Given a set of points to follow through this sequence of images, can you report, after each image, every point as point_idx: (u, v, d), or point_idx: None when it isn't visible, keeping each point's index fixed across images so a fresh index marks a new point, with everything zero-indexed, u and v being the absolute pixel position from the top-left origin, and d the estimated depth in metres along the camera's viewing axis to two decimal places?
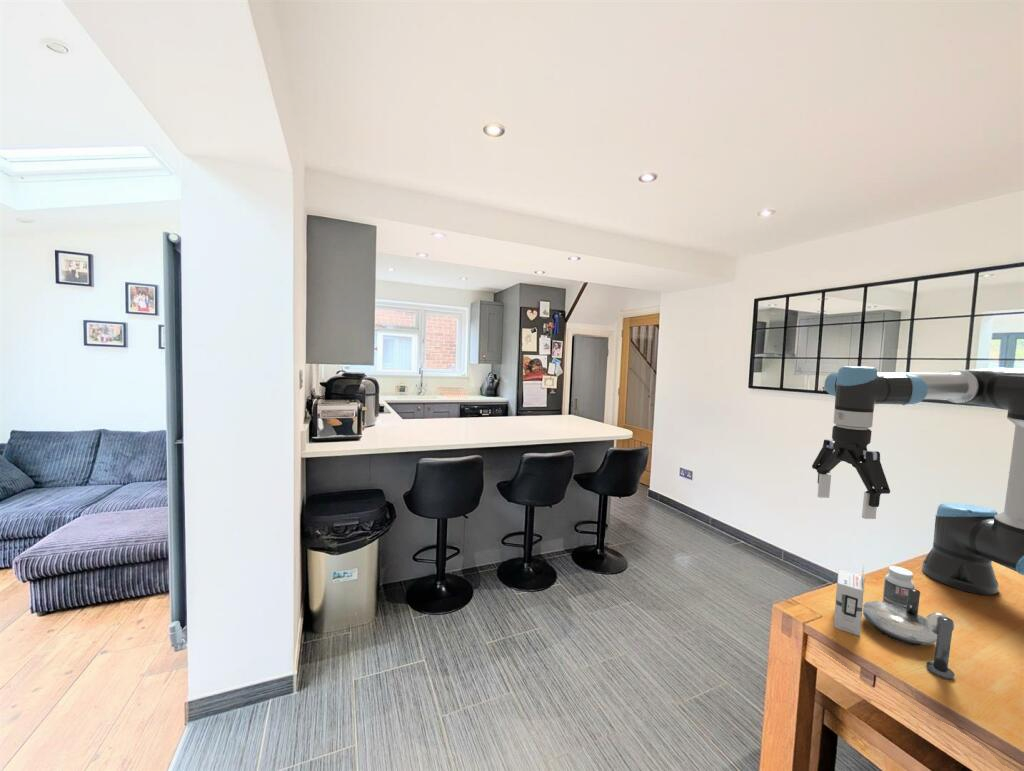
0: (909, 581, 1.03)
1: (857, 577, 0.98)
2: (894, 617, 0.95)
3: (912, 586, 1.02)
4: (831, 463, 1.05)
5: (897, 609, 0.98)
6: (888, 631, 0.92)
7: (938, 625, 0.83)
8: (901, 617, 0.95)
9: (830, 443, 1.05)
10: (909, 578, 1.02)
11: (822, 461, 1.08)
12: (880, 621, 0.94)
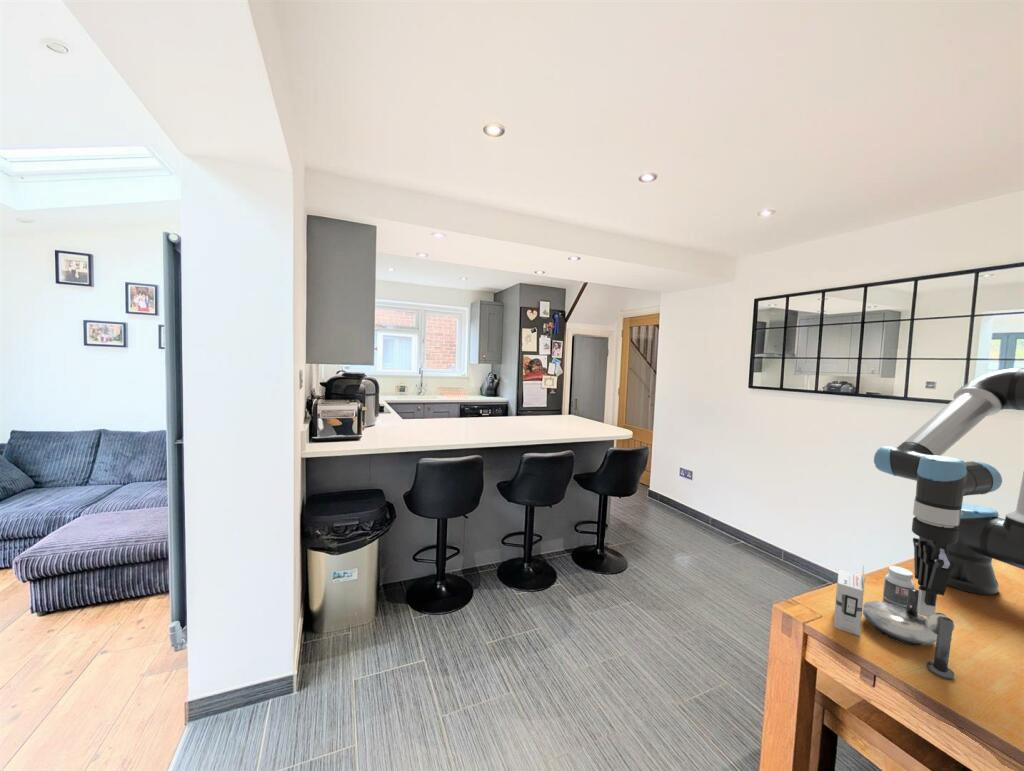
0: (909, 581, 1.03)
1: (857, 577, 0.98)
2: (894, 617, 0.95)
3: (912, 586, 1.02)
4: None
5: (897, 609, 0.98)
6: (888, 631, 0.92)
7: (938, 625, 0.83)
8: (901, 617, 0.95)
9: None
10: (909, 578, 1.02)
11: None
12: (880, 621, 0.94)
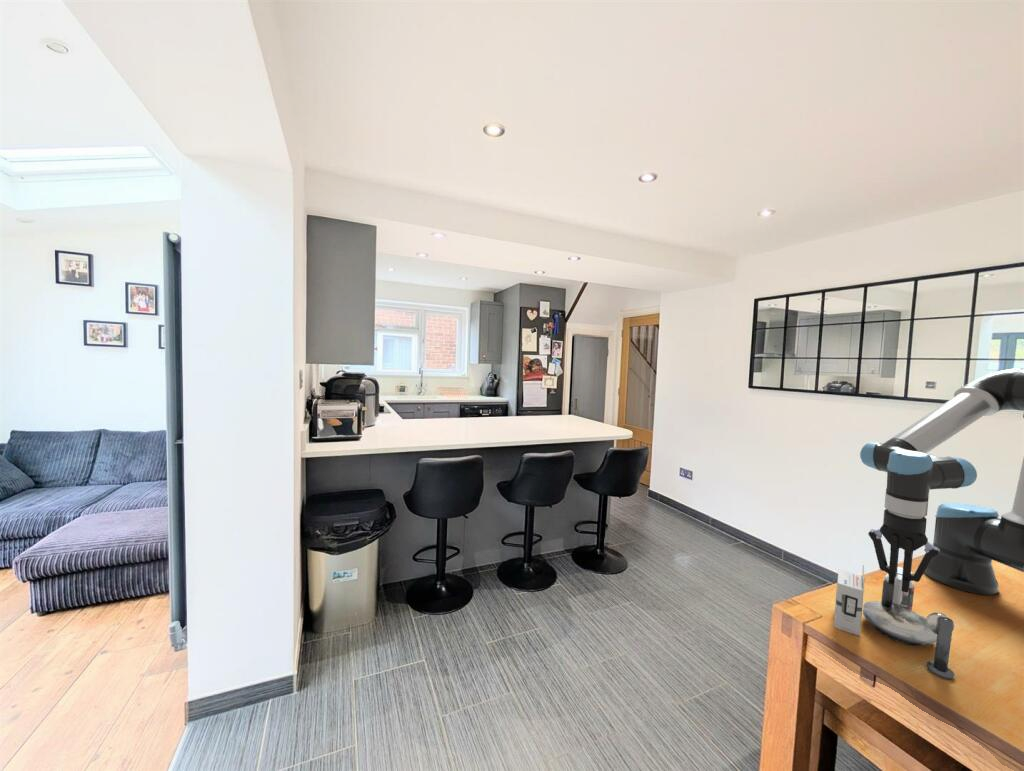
0: None
1: (857, 577, 0.98)
2: (897, 619, 0.95)
3: (912, 586, 1.02)
4: None
5: (880, 606, 0.99)
6: (921, 641, 0.89)
7: (938, 625, 0.83)
8: (897, 615, 0.96)
9: None
10: None
11: (918, 567, 0.96)
12: (908, 633, 0.90)
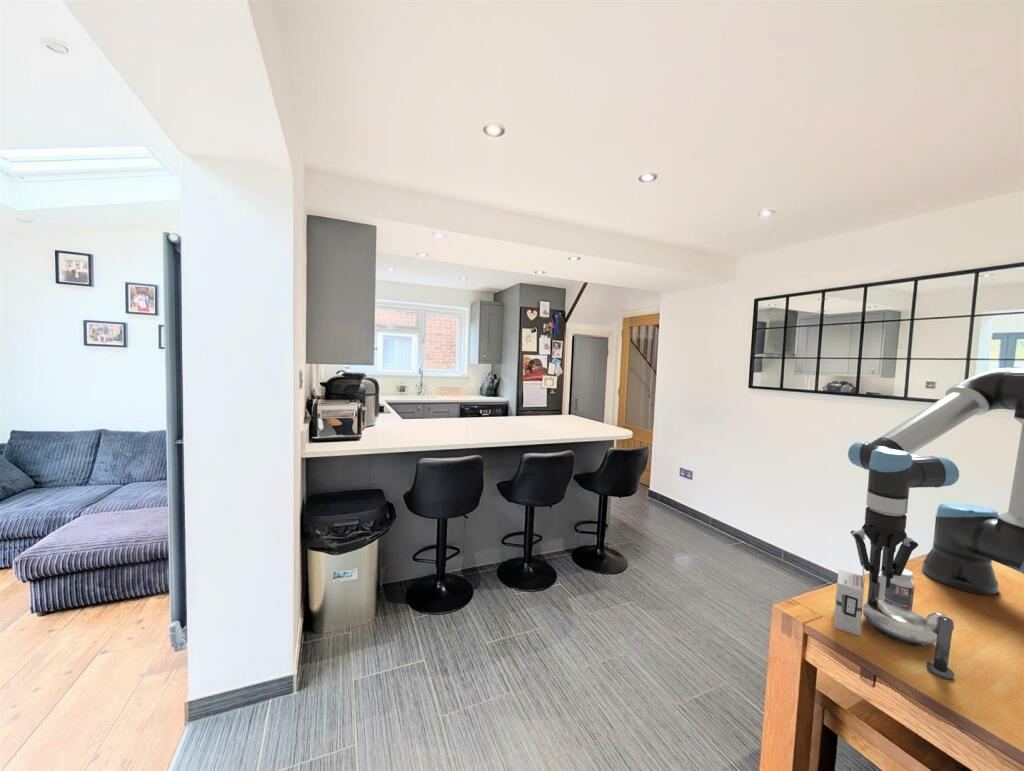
0: (909, 581, 1.03)
1: (857, 577, 0.98)
2: (899, 620, 0.94)
3: (912, 586, 1.02)
4: (883, 553, 1.00)
5: (875, 609, 0.98)
6: None
7: (938, 625, 0.83)
8: (894, 615, 0.96)
9: None
10: (909, 578, 1.02)
11: (896, 561, 0.99)
12: (927, 635, 0.89)
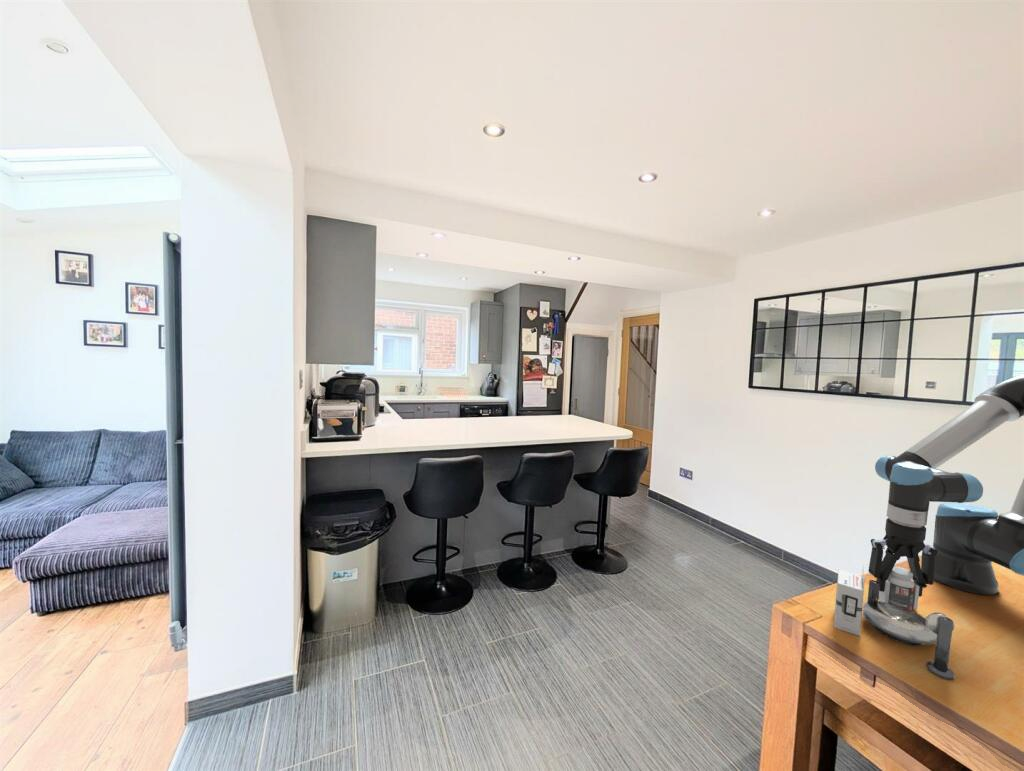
0: (909, 581, 1.03)
1: (857, 577, 0.98)
2: (899, 620, 0.94)
3: (912, 586, 1.02)
4: None
5: (875, 609, 0.98)
6: None
7: (938, 625, 0.83)
8: (894, 615, 0.96)
9: None
10: (909, 578, 1.02)
11: None
12: (927, 635, 0.89)
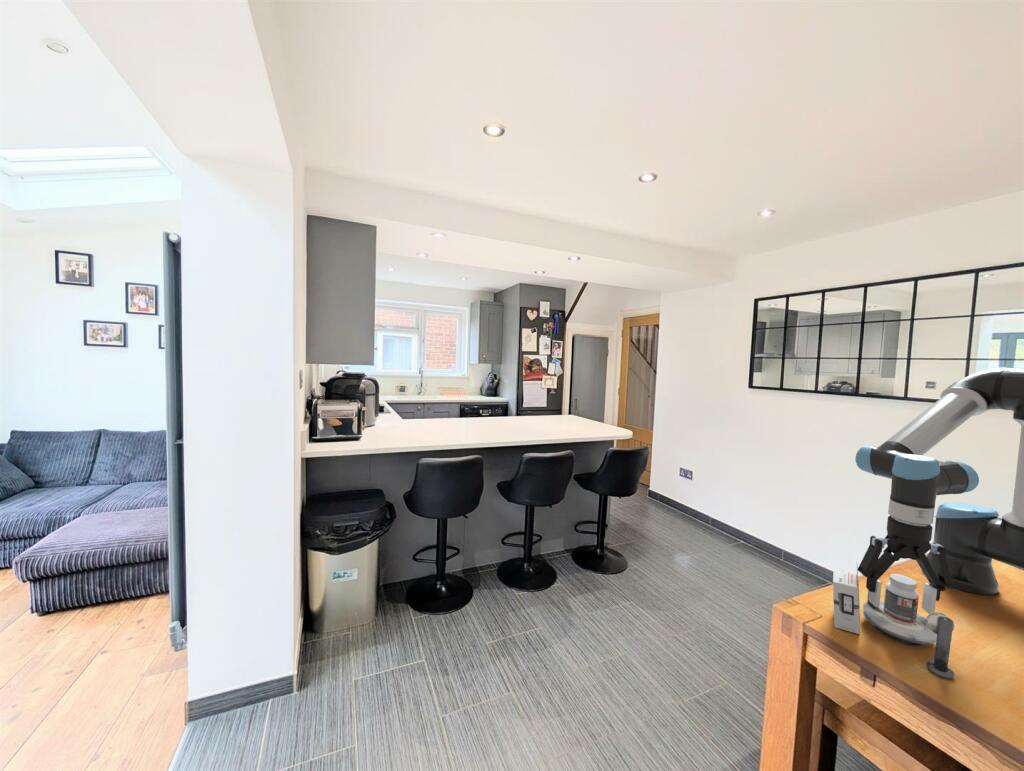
0: (913, 591, 0.92)
1: (852, 574, 0.99)
2: None
3: (916, 597, 0.92)
4: None
5: (875, 609, 0.98)
6: None
7: (938, 625, 0.83)
8: None
9: None
10: (913, 588, 0.92)
11: None
12: (927, 635, 0.89)
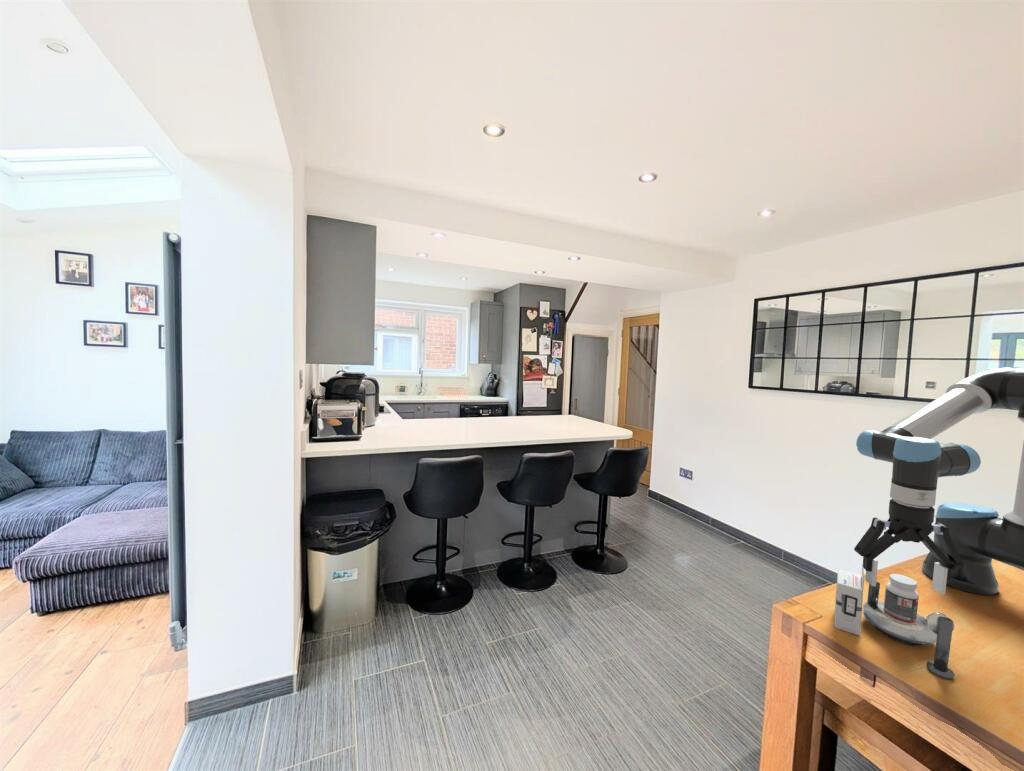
0: (913, 591, 0.92)
1: (856, 576, 0.98)
2: None
3: (916, 597, 0.92)
4: None
5: (875, 609, 0.98)
6: None
7: (938, 625, 0.83)
8: None
9: None
10: (913, 588, 0.92)
11: None
12: (927, 635, 0.89)
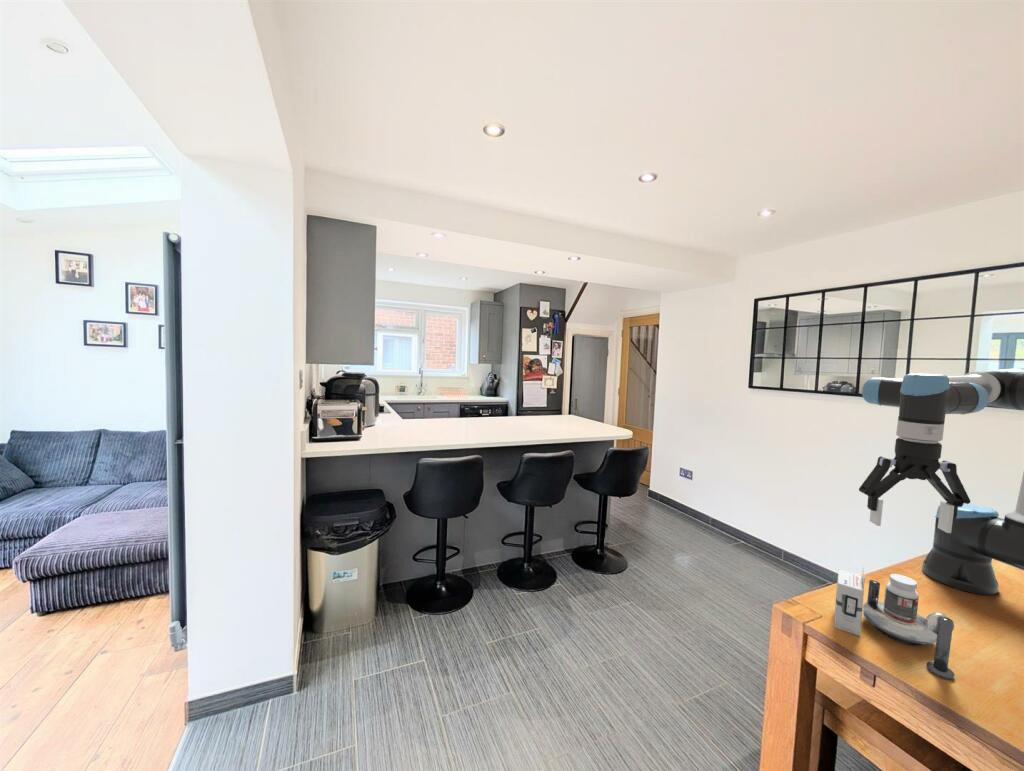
0: (913, 591, 0.92)
1: (857, 577, 0.98)
2: None
3: (916, 597, 0.92)
4: None
5: (875, 609, 0.98)
6: None
7: (938, 625, 0.83)
8: None
9: None
10: (913, 588, 0.92)
11: None
12: (927, 635, 0.89)
